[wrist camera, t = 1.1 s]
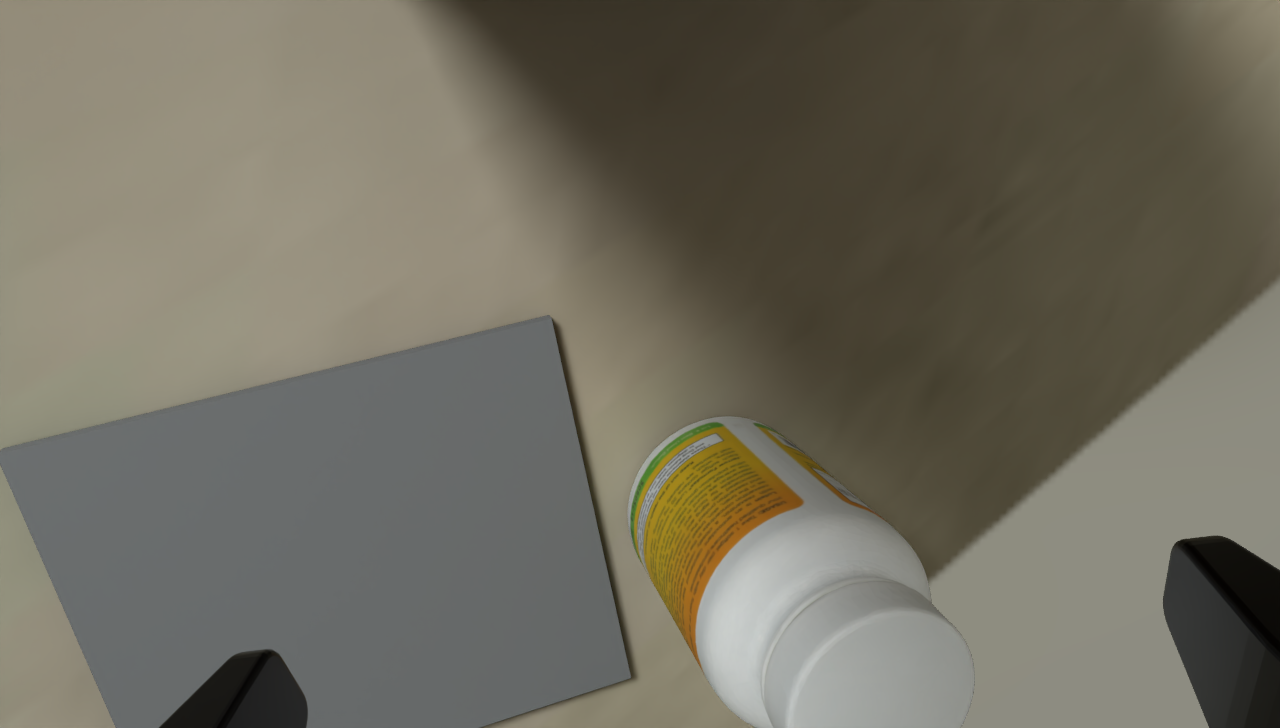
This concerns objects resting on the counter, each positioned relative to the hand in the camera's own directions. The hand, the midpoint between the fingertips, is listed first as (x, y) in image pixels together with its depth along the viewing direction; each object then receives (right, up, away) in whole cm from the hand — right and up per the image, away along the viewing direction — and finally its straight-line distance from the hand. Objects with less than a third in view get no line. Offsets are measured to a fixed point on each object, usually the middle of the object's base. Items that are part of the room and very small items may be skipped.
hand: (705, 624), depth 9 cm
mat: (-8, -3, +15) cm, 17 cm away
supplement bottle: (+1, -1, +17) cm, 17 cm away
